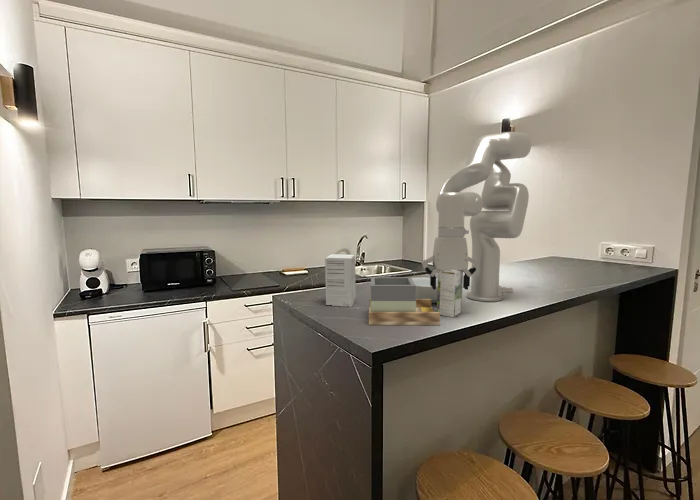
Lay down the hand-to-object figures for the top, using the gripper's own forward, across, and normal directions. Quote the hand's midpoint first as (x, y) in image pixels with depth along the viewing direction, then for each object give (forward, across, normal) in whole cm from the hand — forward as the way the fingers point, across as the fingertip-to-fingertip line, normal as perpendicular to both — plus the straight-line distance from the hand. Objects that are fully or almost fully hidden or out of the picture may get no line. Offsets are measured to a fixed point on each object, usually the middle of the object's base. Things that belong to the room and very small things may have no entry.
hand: (449, 288), depth 112 cm
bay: (+8, +15, +3) cm, 17 cm away
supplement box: (+8, +35, -13) cm, 38 cm away
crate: (+7, +18, +3) cm, 19 cm away
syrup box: (+8, 0, 0) cm, 8 cm away
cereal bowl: (+8, +4, -17) cm, 19 cm away
